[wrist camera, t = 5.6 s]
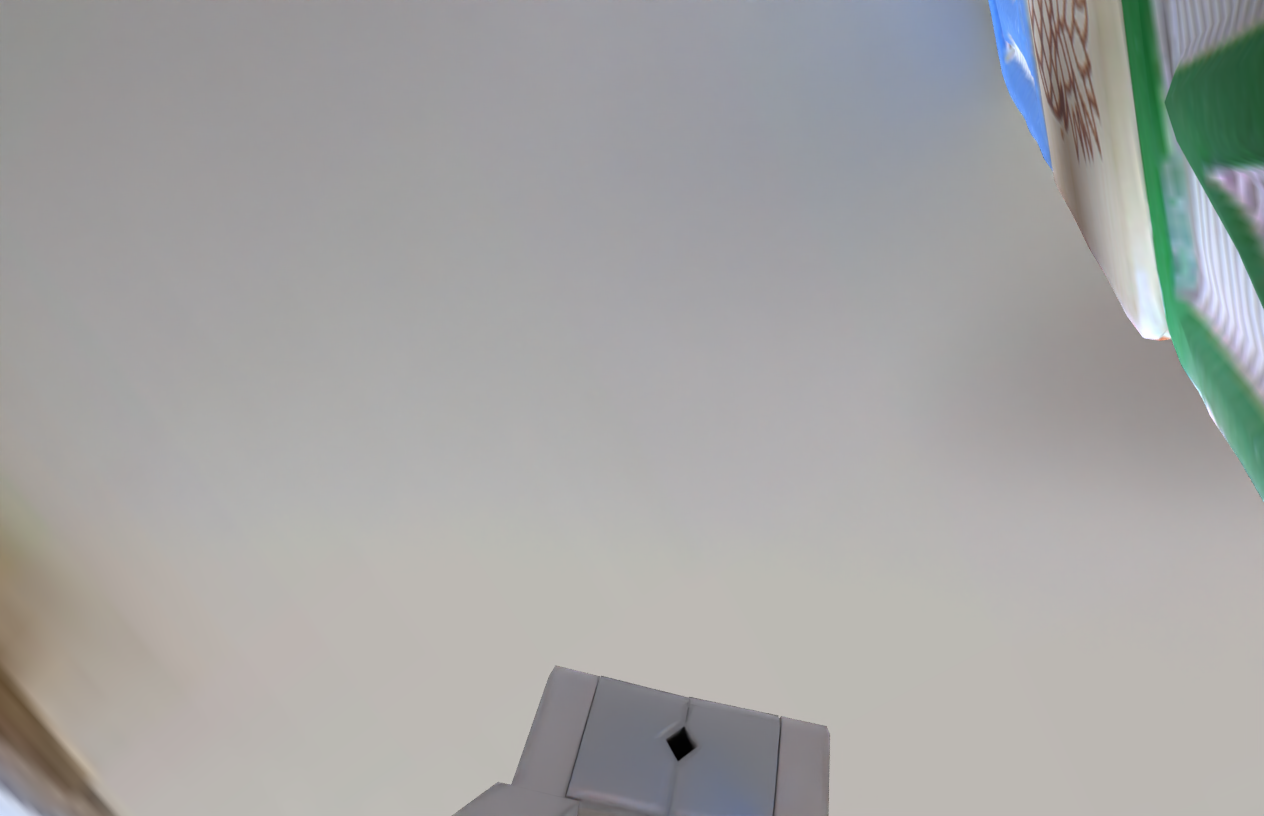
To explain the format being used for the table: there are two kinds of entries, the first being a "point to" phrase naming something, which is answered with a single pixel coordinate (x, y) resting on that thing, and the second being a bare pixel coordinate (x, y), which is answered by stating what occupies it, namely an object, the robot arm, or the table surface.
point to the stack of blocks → (1161, 172)
